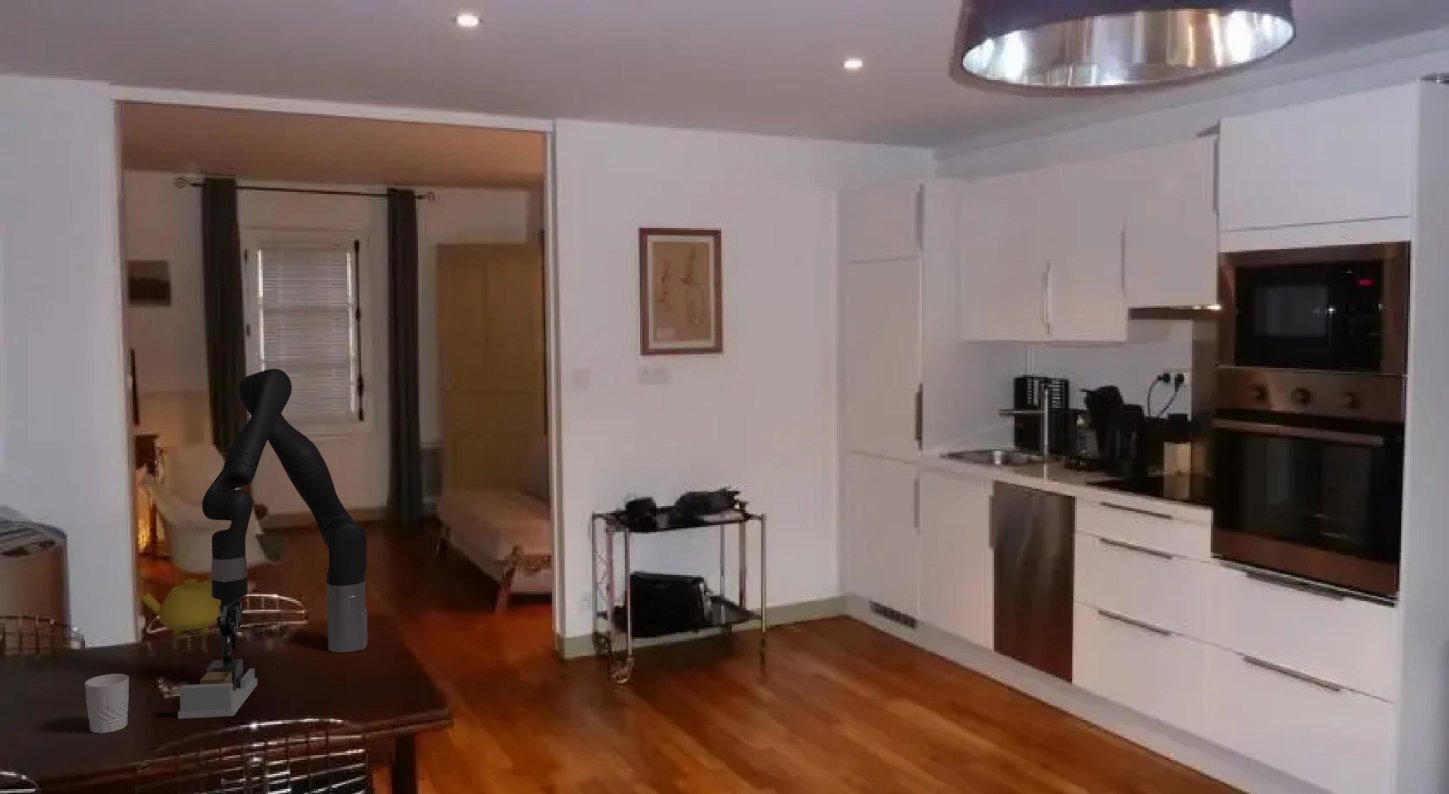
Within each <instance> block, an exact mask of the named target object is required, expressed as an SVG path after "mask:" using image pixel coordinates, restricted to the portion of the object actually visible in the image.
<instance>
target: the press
mask: <svg viewBox="0 0 1449 794" xmlns="http://www.w3.org/2000/svg"><path fill="white" fill-rule="evenodd" d="M255 670H256V669H255V668H249V669H248V670H247V672H246V673H245V674H243V678H242V679H241V684H240V685H239V686H238V688H237V689H233V683H223V684H201V685H200V684H187V685H186V684H185V685H184V684H183V685H182V686H181V687H179V707H180V709H179V710H178V711H177V719H178V720H179V719H196V718H197V719H199V718H200V719H201V718H202V719H203V718H215V717H216V718H218V717H219V718H220V717H234V716H235V715H236V713H237V712H238V710H239V709H240V708H241V707H242V705H243V704H244V703H245V702H246V700H247V699H248V697H249V696H250V695H251V693H252V692H253V691H254V690H255V689H256V687H257V686H258V678H257V677H256V678H255V676H256V675H255V674H256V673H255V672H256V671H255Z"/></svg>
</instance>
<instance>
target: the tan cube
mask: <svg viewBox="0 0 1449 794" xmlns="http://www.w3.org/2000/svg"><path fill="white" fill-rule="evenodd" d="M199 683H200V684H199V685H201V684H223V683H232V671H231V672H207V671H206V674H205V675H204V676H203V677H202V678H201V679H200V681H199Z"/></svg>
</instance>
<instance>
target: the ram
mask: <svg viewBox="0 0 1449 794" xmlns="http://www.w3.org/2000/svg"><path fill="white" fill-rule="evenodd" d="M221 648H222V649H221V650H222V651H221V652H222V655H221V656H222V659H214V660H213V661H212V662H211V663H210V664H209V665H208V667H207V668H206V673H207V672H231V671H232V683H233V689H237V688H238V686H239V685H240V684H241V679H242V678H243V676H244V661H243V660H244V659H243V658H236V659H235V658H234V659H233V651H232V634H223V635H222V634H221Z"/></svg>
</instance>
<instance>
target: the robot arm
mask: <svg viewBox="0 0 1449 794" xmlns="http://www.w3.org/2000/svg"><path fill="white" fill-rule="evenodd" d="M292 389H293V386H292V381H291V379H290V377H289V375H288V374H287V373H286V372H285V371H283V370H281V369H280V368H269V369H265V370H261V371H259V372H256V373H253V374H249V375H246V376H245V377H243V378H242V379H241V381H240V382H239V385H238V395H239V399H240V400H241V402H242V404H243V405H244V406H243V407H245V408H246V411H247V412H248V413H249V415H250V418H249V419H248V420H247V422H246V424H244V427H243V428H242V430H240V432H239V434H238V435H237V436H236V438H235V439H234V440H233V442H232V444H231V445H230V448H229V450H228V453H227V456H226V458H225V461H224V464H223V467H222V470H221V471H220V473H219V474H218V475H217V477H215V479H214V481H213V482H212V483H211V485H210V486H209V488H208V489H207V491H206V492H205V493H204V496H203V499H202V501H201V502H202V503H201V509H202V510H201V511H202V512H203V514H204V517H205V518H207V519H208V520H212V521H230V522H231V523H230V526H229V528H227V529H220V530H217V531H216V532H214V533H213V534H212V537H211V554H212V555H211V566H210V567H211V568H210V569H211V570H210V571H211V574H210V575H211V587H212V597H213V598H215V599H219V600H221V606H219V614H220V617H217V623H216V624H217V626H218V628H219V631H220V632H219V633H220V635H221V636H222V635H223V634H232V652H233V651H236V650H237V649H238V632H239V628H241V625H242V624H241V622H242V617H243V610H244V606H245V605H244V603H243V602H241V598H244V597H246V596H247V595H248V593H249V589H248V588H249V587H248V586H249V585H248V583H249V582H248V579H249V578H248V562H247V553H246V551H247V549H246V548H247V547H246V538H247V534H248V533H247V532H248V528H249V523H250V519H251V516H252V513H253V508H254V502H253V498H252V496H251V494H250V492H248V491H246V490H244V489H237V488H240V487H241V488H242V487H246V486H249V485H250V484H251V483H252V482H253V481H254V479H255V476H256V473H257V470H258V466H259V464H260V460H261V458H262V455H263V453H264V449H265V447H266V444H267V442H269V445H270V446H271V447H272V450H273V451H274V452H275V455H276V456H277V458H278V460H279V461H280V464H281V466H282V468H283V470H284V471H285V473H286V475H287V476H288V479H289V480H290V482H291V483H292V485H293V486H294V489H295V490H296V492H297V493H298V494H299V496H300V497H301V499H302V500H303V502H304V503H305V504H306V506H307V507H308V508H309V510H310V512H311V513H312V515H313V518H314V520H315V523H316V524H317V526H318V529H319V531H320V534H321V537H322V540H323V542H324V545H325V546H326V547H327V548H328V570H327V571H326V604H327V605H326V606H327V607H326V610H327V611H326V613H327V614H326V615H327V649H328V651H330V652H332V653H352V652H356V651H362V650H363V651H365V649H366V647H367V645H368V608H367V607H366V581H365V579H366V571H367V568H368V565H367V562H368V559H367V557H368V542H367V541H368V540H367V534H366V530H365V529H364V527H363V526H362V525H360V524H359V523H358V522H357V521H355V520H354V519H353V517H351V514H349V512H348V511H347V509H346V508H345V506H344V505H343V503H342V502H341V499H340V498H339V496H338V494H337V491H336V488H335V484H334V482H333V478H332V475H331V472H330V470H329V467H328V465H327V463H326V461H325V459H324V458H323V456H322V454H321V451H320V450H319V449H318V447H317V445H316V444H314V442H313V441H311V439H309V438H308V437H307V436H306V435H304V434H303V433H302V432H300V431H299V430H298V429H296V428H295V427H294V426H292V425H291V424H290V423H289V422H288V421H287V420H286V418H285V416H283V414H282V413H283V411H284V409H285V407H286V405H287V404H288V402H289V400H290V399H291V398H290V397H291V395H292Z"/></svg>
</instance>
